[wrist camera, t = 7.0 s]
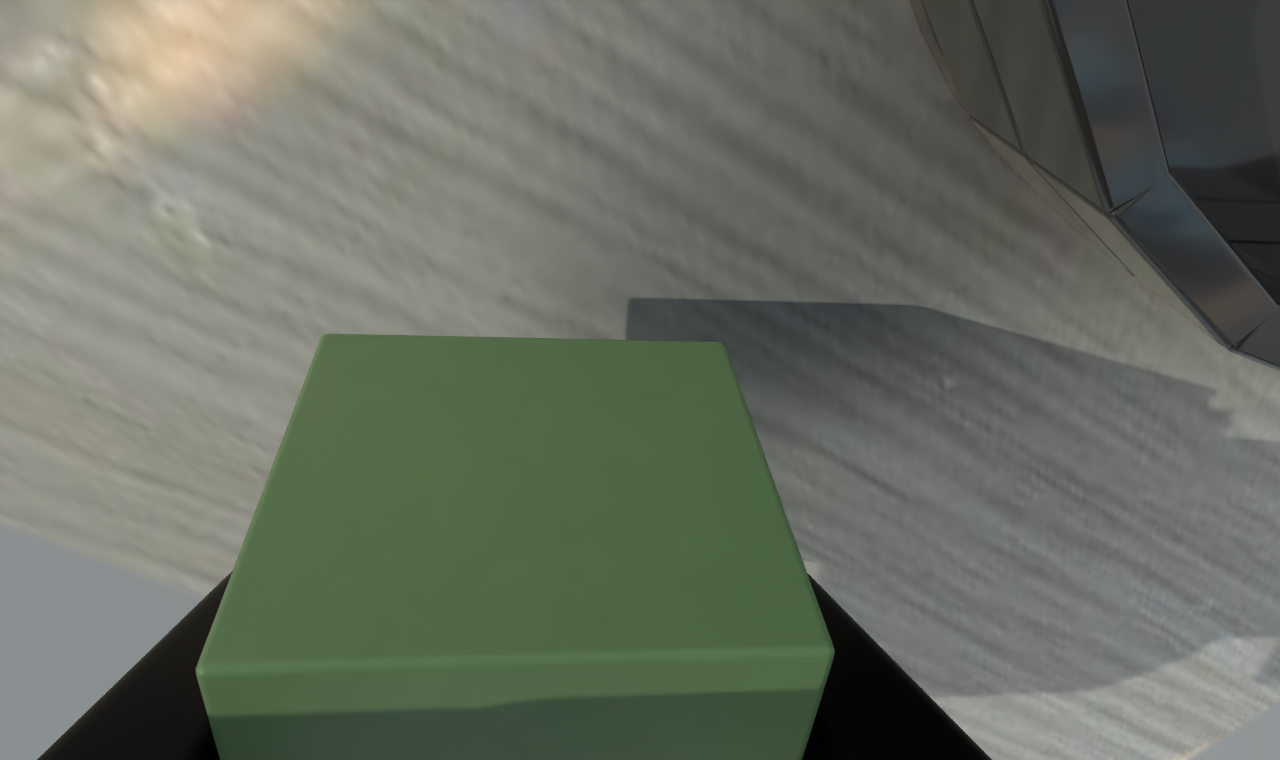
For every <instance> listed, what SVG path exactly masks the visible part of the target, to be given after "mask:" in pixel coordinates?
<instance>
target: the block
mask: <svg viewBox="0 0 1280 760" xmlns="http://www.w3.org/2000/svg"><path fill="white" fill-rule="evenodd" d="M834 652H835V650H834V647H833V644H832V641H831V638H830V635H829V632H828V630H827V627H826V624H825V621H824V619H823V616H822V613H821V610H820V608H819V605H818V602H817V599H816V597H815V594H814V591H813V588H812V585H811V583H810V580H809V577H808V574H807V572H806V569H805V566H804V563H803V561H802V558H801V555H800V552H799V550H798V547H797V544H796V541H795V538H794V536H793V533H792V530H791V527H790V525H789V522H788V519H787V516H786V514H785V511H784V508H783V505H782V503H781V500H780V497H779V494H778V491H777V489H776V486H775V483H774V480H773V478H772V475H771V472H770V469H769V467H768V464H767V461H766V458H765V456H764V453H763V450H762V447H761V444H760V442H759V439H758V436H757V433H756V431H755V428H754V425H753V422H752V420H751V417H750V414H749V411H748V409H747V406H746V403H745V400H744V398H743V395H742V392H741V389H740V386H739V384H738V381H737V378H736V375H735V373H734V370H733V367H732V364H731V362H730V359H729V356H728V353H727V351H726V348H725V345H724V344H723V343H720V342H700V341H651V340H603V339H554V338H505V337H457V336H408V335H360V334H326V335H323V336H322V337H321V339H320V342H319V345H318V347H317V350H316V352H315V355H314V358H313V360H312V363H311V366H310V368H309V371H308V374H307V376H306V379H305V382H304V384H303V387H302V389H301V392H300V395H299V397H298V400H297V403H296V405H295V408H294V411H293V413H292V416H291V418H290V421H289V424H288V426H287V429H286V432H285V434H284V437H283V440H282V442H281V445H280V447H279V450H278V453H277V455H276V458H275V461H274V463H273V466H272V469H271V471H270V474H269V477H268V479H267V482H266V484H265V487H264V490H263V492H262V495H261V498H260V500H259V503H258V506H257V508H256V511H255V513H254V516H253V519H252V521H251V524H250V527H249V529H248V532H247V535H246V537H245V540H244V542H243V545H242V548H241V550H240V553H239V556H238V558H237V561H236V564H235V566H234V569H233V572H232V574H231V577H230V579H229V582H228V585H227V587H226V590H225V593H224V595H223V598H222V601H221V603H220V606H219V608H218V611H217V614H216V616H215V619H214V622H213V624H212V627H211V630H210V632H209V635H208V637H207V640H206V643H205V645H204V648H203V651H202V653H201V656H200V659H199V661H198V664H197V667H196V676H197V680H198V683H199V687H200V690H201V694H202V697H203V701H204V704H205V708H206V711H207V715H208V718H209V722H210V726H211V729H212V733H213V736H214V740H215V743H216V747H217V750H218V754H219V757H220V760H802V759H803V755H804V752H805V749H806V746H807V742H808V739H809V736H810V733H811V729H812V726H813V723H814V720H815V717H816V713H817V710H818V707H819V704H820V700H821V697H822V694H823V691H824V687H825V684H826V681H827V678H828V675H829V671H830V668H831V665H832V662H833V658H834Z"/></svg>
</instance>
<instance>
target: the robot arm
mask: <svg viewBox="0 0 1280 760" xmlns="http://www.w3.org/2000/svg"><path fill="white" fill-rule="evenodd" d="M232 572H233V571H232ZM232 572H231V573H230V574H229V575H228V576H227V577H226V578H225V579H223V580H222V581H221V582H220V583H219V584H218V585H217V586H216V587H215V588H214V589H213V590H212V591H211V592H210V593H209V594H208V595H207V596H206V597H205V598H204V599H203V600H202V601H201V602H200V603H199V604H198V605H197V606H196V607H195V608H194V609H193V610H191V611H190V612H189V613H188V614H187V616H185V617H184V618H183V619H182V620H181V621H180V622H179V623H178V624H177V625H176V626H175V627H174V628H173V629H172V630H171V631H170V632H169V633H168V634H167V635H166V636H165V637H164V638H163V639H162V640H161V641H160V642H158V643H157V644H156V645H155V646H154V647H153V648H152V649H151V650H150V651H149V652H148V653H147V654H146V655H145V656H144V657H143V658H142V659H141V660H140V661H139V662H138V663H137V664H136V665H135V666H134V667H133V668H132V669H131V670H129V671H128V672H127V673H126V674H125V675H124V676H123V677H122V678H121V679H120V680H119V681H118V682H117V683H116V684H115V685H114V686H113V687H112V688H111V689H110V690H109V691H108V692H107V693H106V694H105V695H104V696H103V697H101V698H100V700H98V701H97V702H96V703H95V704H94V705H93V706H92V707H91V708H90V709H89V710H88V711H87V712H86V713H85V714H84V715H83V716H82V717H81V718H80V719H79V720H78V721H77V722H76V723H75V724H74V725H73V726H72V727H70V728H69V730H67V731H66V732H65V733H64V734H63V735H62V736H61V737H60V738H59V739H58V740H57V741H56V742H55V743H54V744H53V745H52V746H51V747H50V748H49V749H48V750H47V751H46V752H45V753H44V754H43V755H42V756H41V757H40V758H38V759H37V760H220V757H219V754H218V750H217V747H216V743H215V740H214V736H213V733H212V729H211V726H210V722H209V718H208V715H207V711H206V708H205V704H204V701H203V697H202V694H201V690H200V687H199V683H198V680H197V676H196V667H197V664H198V661H199V659H200V656H201V653H202V651H203V648H204V645H205V643H206V640H207V637H208V635H209V632H210V630H211V627H212V624H213V622H214V619H215V616H216V614H217V611H218V608H219V606H220V603H221V601H222V598H223V595H224V593H225V590H226V587H227V585H228V582H229V579H230V577H231V574H232ZM807 574H808V573H807ZM808 577H809V580H810V583H811V585H812V588H813V591H814V594H815V597H816V599H817V602H818V605H819V608H820V610H821V613H822V616H823V619H824V621H825V624H826V627H827V630H828V632H829V635H830V638H831V641H832V644H833V647H834V650H835V652H834V658H833V662H832V665H831V668H830V671H829V675H828V678H827V681H826V684H825V687H824V691H823V694H822V697H821V700H820V704H819V707H818V710H817V713H816V717H815V720H814V723H813V726H812V729H811V733H810V736H809V739H808V742H807V746H806V749H805V752H804V755H803V759H802V760H992V759H991V758H990V757H989V756H988V755H987V754H986V753H985V752H984V751H983V750H982V749H981V748H980V747H979V746H978V745H977V744H976V743H975V742H974V741H973V740H972V739H971V738H970V737H969V736H968V735H967V734H966V733H965V732H964V731H963V730H962V729H961V728H960V727H959V726H958V725H957V724H956V723H955V722H954V721H953V720H952V719H951V718H950V717H949V716H948V715H947V714H946V713H945V712H944V711H943V710H942V709H941V708H940V707H939V706H938V705H937V704H936V703H935V702H934V701H933V700H932V699H931V698H930V697H929V696H928V695H927V694H926V693H925V692H924V691H923V689H922V688H921V687H920V686H919V685H918V684H917V683H916V682H915V681H914V680H913V679H912V678H911V677H910V676H909V675H908V674H907V673H906V672H905V671H904V670H903V669H902V668H901V667H900V666H899V665H898V664H897V663H896V662H895V661H894V660H893V659H892V658H891V657H890V656H889V655H888V654H887V653H886V652H885V651H884V650H883V649H882V648H881V647H880V646H879V645H878V644H877V643H876V642H875V641H874V640H873V639H872V638H871V637H870V636H869V635H868V634H867V633H866V632H865V631H864V630H863V629H862V628H861V627H860V626H859V625H858V624H857V623H856V622H855V621H854V620H853V619H852V618H851V617H850V616H849V615H848V614H847V613H846V612H845V611H844V610H843V609H842V608H841V606H840V605H839V604H838V603H837V602H836V601H835V600H834V599H833V598H832V597H831V596H830V595H829V594H828V593H827V592H826V591H825V590H824V589H823V588H822V587H821V586H820V585H819V584H818V583H817V582H816V581H815V580H814V579H813V578H812V577H811V576H810V575H809V574H808Z"/></svg>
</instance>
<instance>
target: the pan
mask: <svg viewBox="0 0 1280 760" xmlns="http://www.w3.org/2000/svg"><path fill="white" fill-rule="evenodd" d="M910 2H911V5H912V8H913V11H914V14H915V17H916V20H917V23H918V26H919V29H920V31H921V33H922V35H923V37H924V39H925V41H926V43H927V45H928V47H929V49H930V51H931V53H932V55H933V57H934V59H935V61H936V63H937V64H938V66H939V68H940V70H941V72H942V74H943V76H944V78H945V80H946V82H947V84H948V86H949V88H950V90H951V92H952V94H953V96H954V97H955V99H956V100H957V101H958V103H959V104H960V106H961V107H962V108H963V110H964V111H965V112H966V114H967V115H968V116H969V118H970V120H971V121H972V122H973V123H974V124H975V126H976V127H977V129H978V130H979V131H980V133H981V134H982V135H983V137H984V138H985V139H986V141H987V142H988V143H989V145H990V146H991V148H992V149H993V150H994V151H995V152H996V153H997V154H998V155H999V156H1000V157H1001V158H1002V159H1003V160H1004V161H1005V162H1006V163H1007V164H1008V165H1009V166H1010V167H1011V168H1012V169H1013V170H1014V171H1015V172H1017V173H1018V174H1019V175H1020V176H1021V177H1022V178H1023V179H1024V180H1025V181H1026V182H1027V183H1028V184H1029V185H1030V186H1031V187H1032V188H1033V189H1034V190H1035V191H1036V192H1037V193H1038V194H1040V195H1041V196H1042V197H1043V198H1044V199H1045V200H1046V201H1047V202H1048V203H1049V204H1050V205H1051V206H1052V208H1053V209H1054V210H1055V211H1056V212H1057V213H1058V214H1059V215H1060V216H1061V217H1062V218H1063V219H1064V220H1065V221H1066V223H1067V224H1068V225H1069V226H1070V227H1072V228H1073V229H1074V230H1075V231H1077V232H1078V233H1079V234H1080V235H1082V236H1083V237H1084V238H1085V239H1087V240H1088V241H1089V242H1091V243H1092V244H1093V245H1094V246H1096V247H1097V248H1098V249H1099V250H1101V251H1102V252H1103V253H1104V254H1106V255H1107V256H1108V257H1110V258H1111V259H1112V260H1113V261H1115V262H1116V263H1117V264H1118V265H1120V266H1121V267H1122V268H1123V269H1125V270H1126V271H1127V272H1129V273H1130V274H1131V275H1132V276H1135V277H1136V278H1137V279H1138V280H1139V281H1140V282H1141V283H1142V284H1144V285H1145V286H1146V287H1148V288H1149V289H1150V290H1151V291H1153V292H1154V293H1155V294H1156V295H1158V296H1159V297H1160V298H1161V299H1163V300H1164V301H1165V302H1167V303H1168V304H1169V305H1170V306H1172V307H1173V308H1174V309H1175V310H1177V311H1178V312H1179V313H1180V314H1182V315H1183V316H1184V317H1186V318H1187V319H1188V320H1189V321H1191V322H1192V323H1193V324H1194V325H1196V326H1197V327H1198V328H1199V329H1201V330H1202V331H1203V332H1205V333H1206V334H1207V335H1208V336H1210V337H1211V338H1212V339H1213V340H1215V341H1216V342H1217V343H1218V344H1220V345H1221V346H1224V347H1225V348H1226V349H1227V350H1229V351H1230V352H1232V353H1235V354H1237V355H1240V356H1242V357H1245V358H1248V359H1250V360H1253V361H1255V362H1258V363H1260V364H1263V365H1265V366H1268V367H1271V368H1273V369H1276V370H1278V371H1280V0H910Z"/></svg>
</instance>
